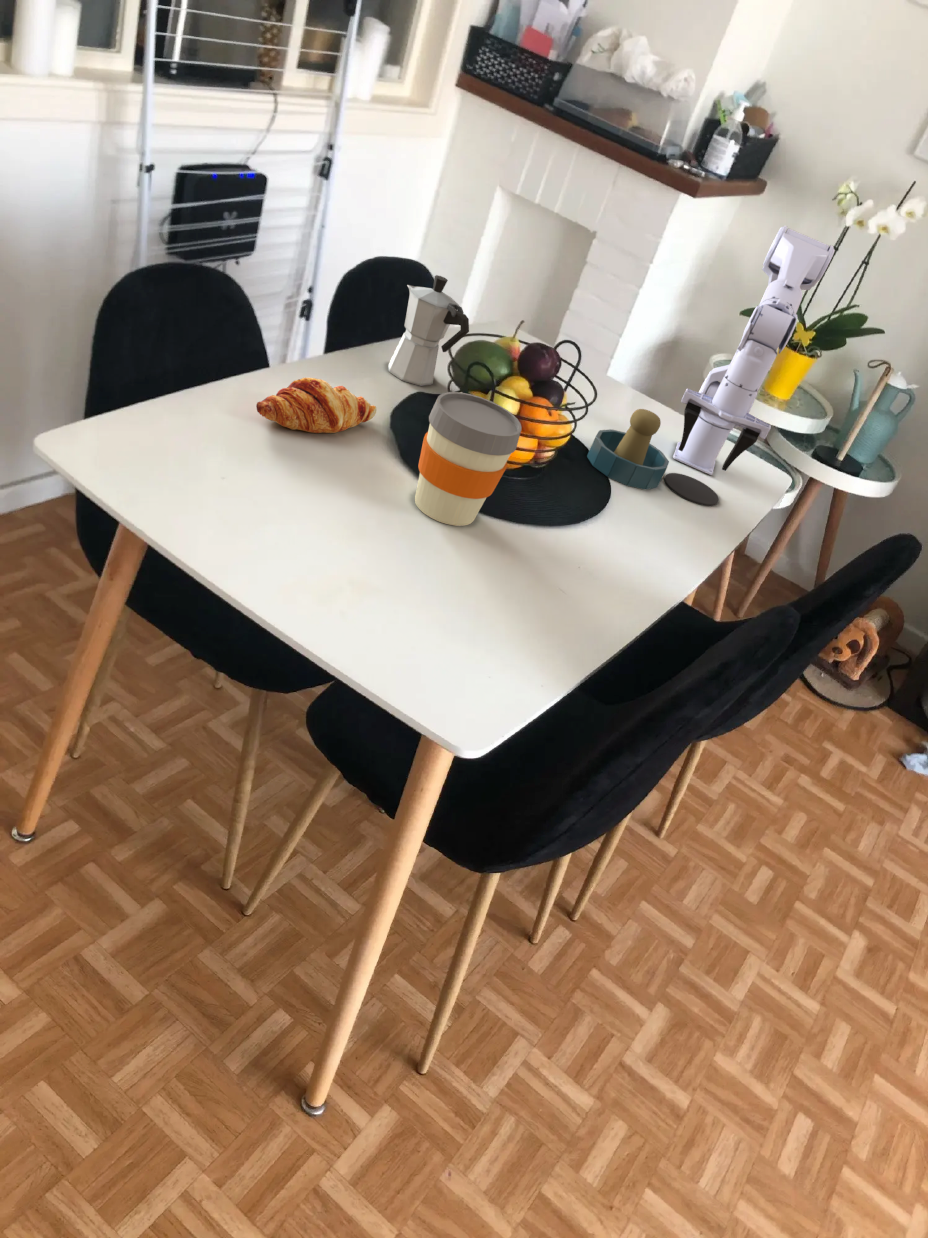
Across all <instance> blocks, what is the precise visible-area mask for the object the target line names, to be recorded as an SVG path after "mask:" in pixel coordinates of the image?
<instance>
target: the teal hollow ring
mask: <svg viewBox="0 0 928 1238" xmlns="http://www.w3.org/2000/svg"><path fill="white" fill-rule="evenodd" d="M625 434H626V432H625V431H620V430H616V429H611V428H609V429H600V430H598V432H597V433H596V435H595V437H594V439H593V441H592V443H591V445H590V448H589V450H588V453H587V455H586V457H587V459H588V461H589V462H590V464H591V465H592V467H594V468H595V469H596V470H598V471H599V472H601V474H603V475H604V476H606V477H607V478H609V479H611V480H613V481H616V482H618V483H620V484H622V485H624V486H627V487H631V488H636V489H641V490H651V489H657V488H659V485H660V483H661V481H662V479H663V478H664V475H665V473H666V471H667V469H668V466H669V463H670V461H669V459H668V458H667V457H666V455H665V454H664V452H663V451H661V450H660V449H659V448H657V447H656V446H655V445H653V444H652V443H650V444H649V447H648V450H647V453H646V456H645V459H644V462H643V465H639V464H635V463H633V462H631V461H629V460H626V459H624V458H622V457H620V456H618V455H616V454H615V453H614V451H615V450H616V448H617V446H618V445H619V443H620V442H621V440H622V439H623V437H624V435H625Z"/></svg>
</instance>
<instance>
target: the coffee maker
mask: <svg viewBox="0 0 928 1238" xmlns="http://www.w3.org/2000/svg"><path fill="white" fill-rule="evenodd" d="M447 283H448V279H447V278H446V277H444V276H442V275H438V274H436V275H434V279H433V285H432V288H431V287H424V286H414V285H411V284H407V285H406V286H407V288H408V291H409V296H408V303H407V308H406V315H405V320H404V325H403V327H404V328H405V331H404V332H403V334H402V336H401V338H400V340H399V342H398V344H397V346H396V348H395V349H394V352H393V354H392V356H391V358H390V360H389V362H388V365H387V366H388V373H390V374H391V375H393V376H394V377H396V378H398V380H401V381H402V382H406V383H409V384H413V385H416V386H420V387H421V386H430V385H433V383H434V377H435V372H436V365H437V360H438V354H439V347H441V351H442V353H447V352H448V351H449V350H450V349H451V348H452V347H453V346H455V345H457V343H458V342H460V340H461V339H463V338H464V337H465V336H466V335H467V334H469V333H470V320H469V319H470V318H468V316H467V315H466V314H465V313H464V309H463V307H462V306H460V304H459V303H458V302H457V301H456V300H455V299H453V297H451V296H450V295H449V294H446V293H445V292H443V291H444V289H445V287H446V285H447ZM450 325H452V326H460V330H458V331H457V332H456V333H455V334H454V335H452V337H450V338H449V339H448V340H447V341H445V342H444V343H443V344H442V345H441V346H439V343H440V340H442V339H444V337H445V335H446V334H447V331H448V329H449V327H450Z"/></svg>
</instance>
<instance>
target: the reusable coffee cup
mask: <svg viewBox="0 0 928 1238" xmlns="http://www.w3.org/2000/svg"><path fill="white" fill-rule="evenodd" d="M428 422H429V425H428V430H427V431H426V433H425V434H424V436H423V441H422V446H421V450H420V456H419V460H418V467H417V468H418V471H419V474H418V480H417V486H416V491H415V496H414V503H415V505H416V507H417V508H418V509H419V511H421V513H423V514H424V515H425V516H427V517H429V518H431V519H432V520H434V521H437V522H439V523H442V524H446V525H449V526H456V527H462V526H463V527H464V526H468V525H471V524H472V523H473V522H474V521H475V519H476V517H477V515H478V514H479V512H480V510H481V508H482V507H483V505H484V503H485V501H486V499H487V498H489V497H490V496H491V495H492V494H493V493H494V492H495V489H496V488H497V486H498V484H499V482H500V480H501V478H502V477H503V475H504V473H505V472H506V470H507V468H508V461H509V458H510V457H511V455H512V454H513V453H514V452H516V450H517V447H518V443H519V440H520V436H521V432H522V429H523V428H522V424H521V423H522V422H521V421H520V420H519V419H518V418H517V417H516V416H515V415H514V414H513V413H512V412H510V411H509V410H508V409H506V408H505V407H503V406H502V405H499V404H497V403H496V402H494V401H492V400H489V399H486V398H484V397H481V396H478V395H474V394H470V393H467V392H459V391H449V392H443V393H441V394H439V395H438V396H437V398H436V400H435V402H434V404H433V407H432V409H431V411H430V413H429V415H428Z"/></svg>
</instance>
